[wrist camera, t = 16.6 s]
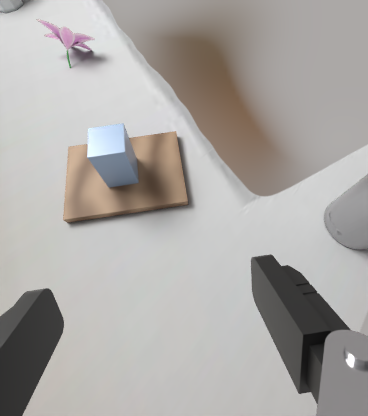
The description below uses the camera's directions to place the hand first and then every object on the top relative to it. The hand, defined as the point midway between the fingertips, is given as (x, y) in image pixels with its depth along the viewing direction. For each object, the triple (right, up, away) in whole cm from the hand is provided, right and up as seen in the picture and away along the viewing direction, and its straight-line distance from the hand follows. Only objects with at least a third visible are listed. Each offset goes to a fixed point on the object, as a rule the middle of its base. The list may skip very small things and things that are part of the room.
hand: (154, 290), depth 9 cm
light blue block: (-10, +10, +35) cm, 38 cm away
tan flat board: (-10, +10, +36) cm, 39 cm away
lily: (-27, +43, +52) cm, 72 cm away
